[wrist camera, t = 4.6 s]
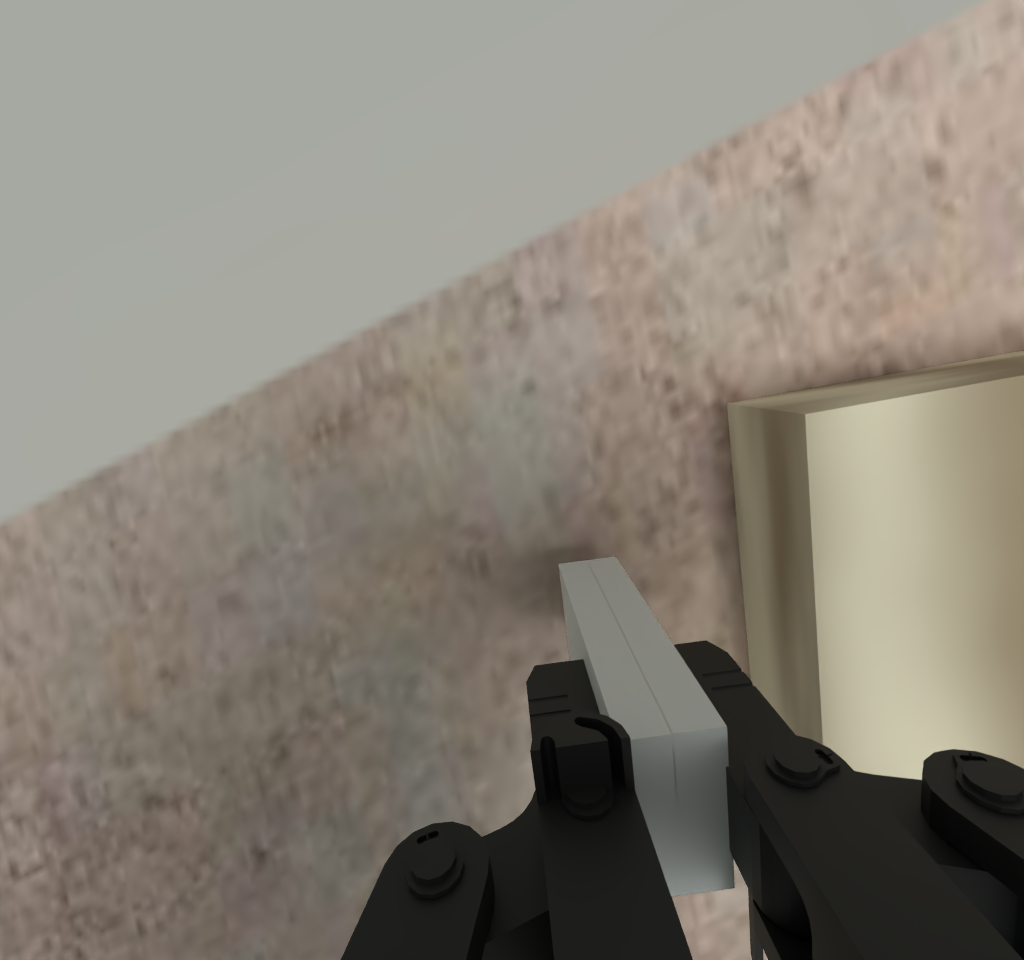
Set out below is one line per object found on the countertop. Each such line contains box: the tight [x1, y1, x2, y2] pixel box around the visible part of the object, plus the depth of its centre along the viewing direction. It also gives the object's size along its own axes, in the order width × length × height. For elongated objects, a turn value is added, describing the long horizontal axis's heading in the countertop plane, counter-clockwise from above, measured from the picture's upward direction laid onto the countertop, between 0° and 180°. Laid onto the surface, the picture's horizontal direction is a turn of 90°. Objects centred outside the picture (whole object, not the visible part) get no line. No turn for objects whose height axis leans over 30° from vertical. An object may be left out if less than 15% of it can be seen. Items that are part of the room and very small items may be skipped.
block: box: [727, 350, 1024, 780], centre depth 14 cm, size 10×10×4 cm
